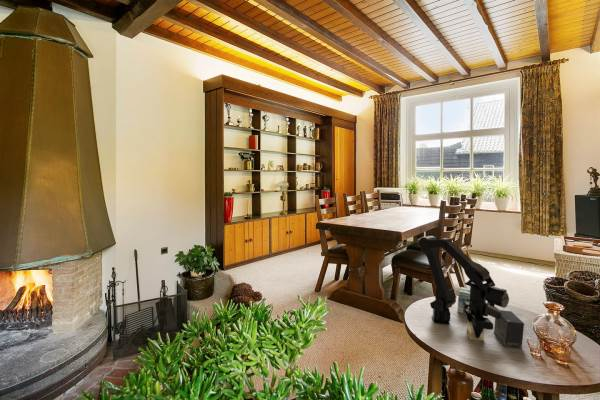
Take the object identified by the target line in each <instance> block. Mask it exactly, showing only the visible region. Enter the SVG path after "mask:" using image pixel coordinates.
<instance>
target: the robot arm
mask: <svg viewBox="0 0 600 400" xmlns="http://www.w3.org/2000/svg"><path fill="white" fill-rule="evenodd" d="M418 246H419V248H420V250H421V252H422V254H423V255H425V256H426V258H427V263H428V266H429V269H430V272H431V276H432V278H433V282H434V286H435V292H434V296H435V297H434V298H435V299H434V300H433V301H431V302H430V303H429V305H430V308H431V309H432V315H431V318H432V320H433V322H434V324H443V325H451V323H450V321H451V311H450V308H452V306H453V305H455V304H456V303H457V299H458V298H457V296H456V293H455V289H454V288H450V286H449V285H448V283H447V279H446V277H445V273H444V270H443V267H442V264H441V260H440V257H439V249H440V248H442V249H443V250H444V251H445V252H446V253H447V254H448V256H450V257H451V258H452V259H453V260H454V261H455V262H456V263H457V264H458V265H459V266H460V267H461V268H462V269H463V272H464V273H465V275H466V277H467V278H468V281H466V282H465V283H464V285H466V286H469V289H470V298H469V297H468V301H469V302H465V301H464V302H463V303H462V308H463V310H465V309H466V311H464V312H465V314H464V315H465V316H466V320H467V322H471V324H472V327H473V330H474V333H475V336H476V338H479V337H480V335H481V333H482V331H483V329H485V330H491V331H492V330H493V331H494V323H493V322H492V321H491V320H490V319H489V318H488V317H489V316H490V317H492V318H494V319H495V318H496V319H499V317H500V315H501V313H502V312H501V311H500V310H501V309H499V308H498V307H500V308H503V309H504V308H507V306H508V304H509V301H510V297H509V294H508V291H507V289H504V288H500V287H497V286H496V284H495V282H494V279H493V278H492V277H491V275H490V271H489V270H488V269H487V268H486V267H485V266H483V265H482V264H480V263H479V262H476V261H474V260H472V259H471V258H470V257H469V256H468V255H467V254H465V253H464V251H462V249H460V248H459V247H458V246H457V245H456V244H455V243H454V242H453V241H452V240H451V238H449V237H435V236H434V235H429V236H423V237H420V238H419V240H418Z"/></svg>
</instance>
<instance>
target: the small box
mask: <svg viewBox="0 0 600 400" xmlns="http://www.w3.org/2000/svg"><path fill="white" fill-rule="evenodd" d="M499 310H500V311H501V312H502V313H501V315H500V317H499V319H496V318H494V326H493V333H494V335H495V336H496V337H497V338H498V340H499V341H500V342H501V344H502V345H503V346H504V347H506V348H507V347H509V348H516V349H522V348H523V339H524V330H525V329H524V327H525V322H524V321H523V320H521V319H520V318H519V317H518V316H517V315H516V314H515V313H513V311H511V310H501V309H499Z"/></svg>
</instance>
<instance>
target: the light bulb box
mask: <svg viewBox="0 0 600 400" xmlns="http://www.w3.org/2000/svg"><path fill="white" fill-rule="evenodd" d="M468 297H469V298H470V288H467V287H462V286H460V288H459V290H458V298H457V312H458V313H460V314H464V315H465V312H464V311H466V309H465V310H463V308H462V303H463V302H464V301H465V302H469V301H468ZM457 312H456V313H457Z"/></svg>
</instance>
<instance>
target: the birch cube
mask: <svg viewBox="0 0 600 400" xmlns="http://www.w3.org/2000/svg"><path fill="white" fill-rule="evenodd" d="M466 322H467V323H466V335H467V336H468V338H469V339H470V340H474V341H476V340H477V341H485V334H486V332H485V330H486V329H483V331H482V333H481V335H480V337H479V338H476V336H475V333H474V330H473V327H472V324H471V322H468V321H466Z"/></svg>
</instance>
